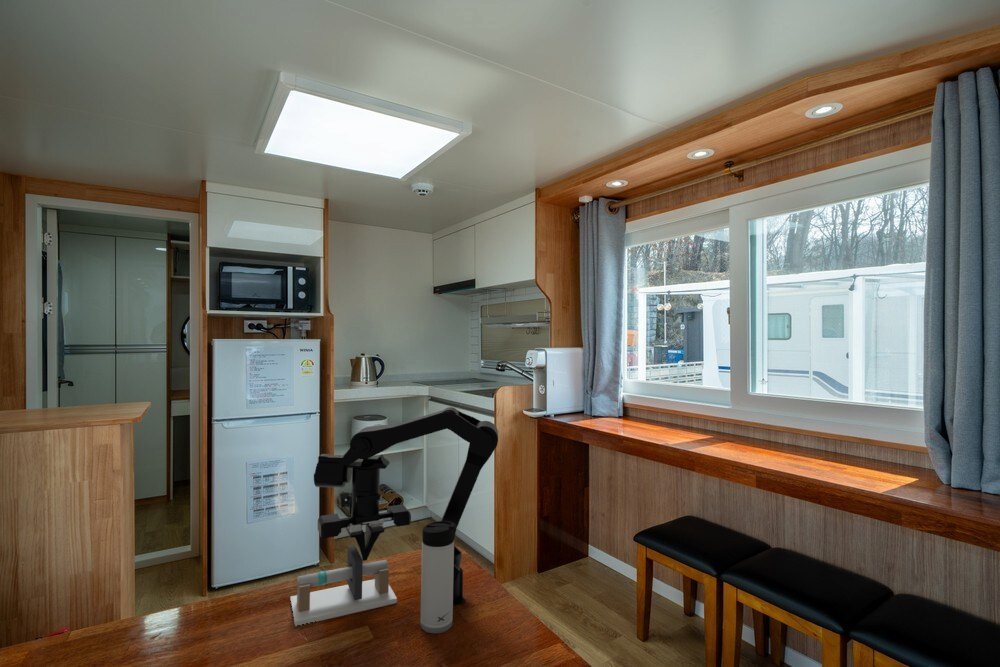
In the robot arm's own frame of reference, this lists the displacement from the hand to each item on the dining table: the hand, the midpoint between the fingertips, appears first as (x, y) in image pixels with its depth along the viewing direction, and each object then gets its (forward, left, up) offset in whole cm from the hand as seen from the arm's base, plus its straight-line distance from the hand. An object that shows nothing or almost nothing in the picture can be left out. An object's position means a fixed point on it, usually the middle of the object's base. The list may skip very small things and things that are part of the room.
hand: (364, 559), depth 110 cm
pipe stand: (+4, 0, -8) cm, 9 cm away
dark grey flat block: (+2, 0, -6) cm, 6 cm away
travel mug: (-11, +16, -8) cm, 21 cm away
